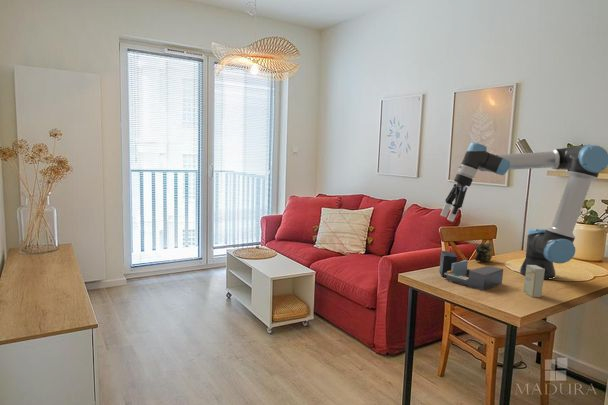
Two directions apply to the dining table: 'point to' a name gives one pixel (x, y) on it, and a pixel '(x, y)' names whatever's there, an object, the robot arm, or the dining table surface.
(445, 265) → the small box
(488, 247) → the seashell
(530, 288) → the skincare box
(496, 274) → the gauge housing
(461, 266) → the blue-grey flat panel
